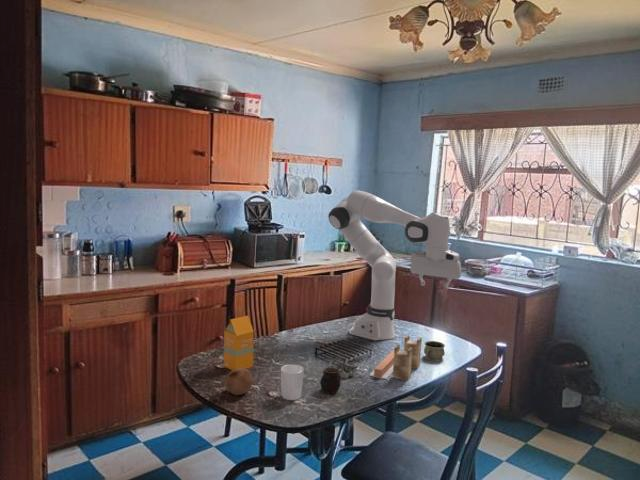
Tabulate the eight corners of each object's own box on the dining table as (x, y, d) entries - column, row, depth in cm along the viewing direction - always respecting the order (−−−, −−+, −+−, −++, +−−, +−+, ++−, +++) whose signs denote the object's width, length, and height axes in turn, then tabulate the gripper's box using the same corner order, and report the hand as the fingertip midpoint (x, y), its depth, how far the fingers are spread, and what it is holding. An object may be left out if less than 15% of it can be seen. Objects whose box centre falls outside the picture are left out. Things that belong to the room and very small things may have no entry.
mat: (369, 375, 198) (369, 374, 198) (388, 356, 220) (388, 355, 220) (386, 379, 196) (386, 378, 195) (404, 359, 217) (404, 358, 217)
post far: (403, 365, 210) (404, 337, 208) (405, 362, 214) (407, 335, 212) (417, 368, 208) (419, 340, 206) (419, 365, 211) (421, 337, 210)
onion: (233, 405, 176) (224, 385, 171) (227, 388, 184) (219, 368, 179) (259, 393, 178) (251, 373, 173) (252, 376, 186) (244, 356, 181)
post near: (392, 377, 198) (394, 347, 196) (395, 374, 201) (397, 344, 200) (407, 380, 195) (409, 350, 193) (410, 377, 199) (412, 347, 197)
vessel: (432, 352, 228) (433, 338, 227) (449, 357, 222) (451, 343, 221) (417, 358, 219) (418, 344, 218) (435, 364, 213) (436, 350, 212)
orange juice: (223, 366, 202) (224, 317, 200) (241, 360, 209) (242, 313, 206) (235, 372, 197) (236, 321, 194) (253, 366, 203) (254, 317, 201)
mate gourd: (316, 388, 185) (317, 361, 184) (335, 385, 188) (336, 359, 187) (324, 396, 179) (326, 369, 178) (344, 393, 182) (345, 366, 181)
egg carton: (358, 377, 198) (359, 366, 197) (342, 380, 194) (342, 370, 194) (343, 367, 207) (344, 357, 206) (327, 370, 203) (328, 360, 203)
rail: (373, 375, 198) (374, 368, 197) (392, 356, 219) (393, 349, 219) (381, 377, 196) (381, 370, 196) (399, 357, 218) (399, 351, 217)
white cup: (279, 391, 182) (280, 364, 180) (302, 391, 182) (303, 364, 181) (280, 401, 174) (280, 373, 173) (303, 401, 175) (304, 373, 173)
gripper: (409, 251, 208) (407, 285, 210) (460, 257, 199) (457, 291, 201) (413, 249, 213) (411, 282, 215) (463, 254, 205) (460, 288, 207)
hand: (434, 286), depth 208 cm, fingers open, 8 cm apart
